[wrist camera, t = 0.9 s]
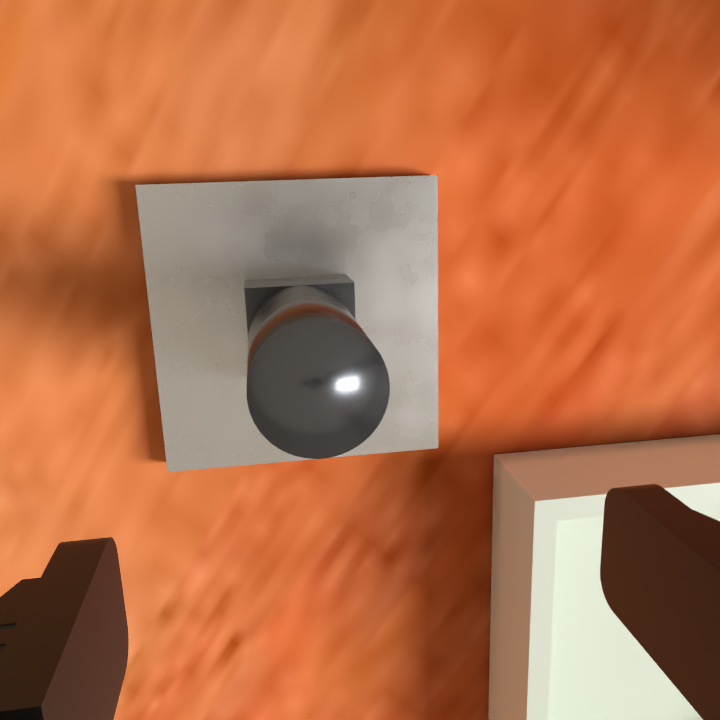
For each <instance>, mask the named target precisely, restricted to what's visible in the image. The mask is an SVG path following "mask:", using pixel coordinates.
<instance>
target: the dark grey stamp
mask: <svg viewBox="0 0 720 720" xmlns="http://www.w3.org/2000/svg"><path fill="white" fill-rule="evenodd" d="M244 291H245V305H246V318H247V331H248V359H247V403H248V408H249V412H250V415H251V417H252V419H253V422H254V424H255V425H256V427H257V428H258V430H259V431H260V433H261V434H262V435H263V436H264V437H265V438H266V439H267V440H268V441H269V442H270V443H271V444H273V445H274V446H275V447H277V448H278V449H280V450H282V451H284V452H286V453H288V454H291V455H294V456H298V457H302V458H309V459H323V458H330V457H334V456H338V455H341V454H344V453H346V452H349V451H350V450H352V449H354V448H356V447H357V446H359V445H360V444H361V443H363V442H364V441H365V440H366V439H367V438H368V437H369V436H371V434H372V433H373V432H374V431H375V430H376V428H377V427H378V425H379V424H380V422H381V420H382V418H383V416H384V414H385V412H386V408H387V405H388V401H389V395H390V382H389V375H388V371H387V368H386V365H385V362H384V360H383V358H382V356H381V354H380V353H379V351H378V350H377V349H376V347H375V346H374V344H373V343H372V342H371V340H370V339H369V338H368V336H367V335H366V334H365V332H364V331H363V329H362V328H361V327H360V325H359V324H358V323H357V321H356V319H355V289H354V282H353V281H352V280H351V279H350V278H349V277H348V276H347V275H336V276H316V277H297V278H278V279H258V280H245V286H244Z"/></svg>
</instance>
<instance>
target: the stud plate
mask: <svg viewBox="0 0 720 720" xmlns="http://www.w3.org/2000/svg"><path fill="white" fill-rule="evenodd" d="M135 187H136V196H137V205H138V214H139V222H140V231H141V240H142V249H143V258H144V267H145V276H146V285H147V294H148V303H149V312H150V321H151V329H152V338H153V347H154V356H155V365H156V374H157V383H158V392H159V401H160V410H161V419H162V428H163V437H164V445H165V454H166V463H167V472H173V471H184V470H195V469H207V468H218V467H230V466H241V465H252V464H264V463H275V462H286V461H298V460H309V458H302V457H298V456H294V455H291V454H288V453H286V452H284V451H282V450H280V449H278V448H277V447H275V446H274V445H273V444H271V443H270V442H269V441H268V440H267V439H266V438H265V437H264V436H263V435H262V434H261V433H260V431H259V430H258V428H257V427H256V425H255V424H254V422H253V419H252V417H251V415H250V412H249V408H248V403H247V359H248V331H247V318H246V305H245V291H244V286H245V280H258V279H278V278H297V277H316V276H336V275H347V276H348V277H349V278H350V279H351V280H352V281H353V282H354V289H355V319H356V321H357V323H358V324H359V325H360V327H361V328H362V329H363V331H364V332H365V334H366V335H367V336H368V338H369V339H370V340H371V342H372V343H373V344H374V346H375V347H376V349H377V350H378V351H379V353H380V354H381V356H382V358H383V360H384V362H385V365H386V368H387V371H388V375H389V382H390V395H389V401H388V405H387V408H386V412H385V414H384V416H383V418H382V420H381V422H380V424H379V425H378V427H377V428H376V430H375V431H374V432H373V433H372V434H371V436H369V437H368V438H367V439H366V440H365V441H364V442H363V443H361V444H360V445H359V446H357V447H356V448H354V449H352V450H350V451H349V452H346V453H344V454H341V455H338V456H334V457H343V456H355V455H366V454H377V453H389V452H400V451H411V450H423V449H434V448H438V175H424V176H393V177H363V178H332V179H301V180H270V181H239V182H208V183H177V184H146V185H135ZM330 458H332V457H330Z"/></svg>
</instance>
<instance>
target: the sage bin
mask: <svg viewBox="0 0 720 720" xmlns="http://www.w3.org/2000/svg"><path fill="white" fill-rule="evenodd" d="M647 484H657V485H660V486H661V487H663V488H664V489H665V490H667V491H668V492H669V493H671V494H672V495H673V496H675V497H676V498H677V499H679V500H680V501H681V502H683V503H684V504H685V505H687V506H688V507H689V508H691V509H692V510H695V511H697V512H699V513H702V514H704V515H706V516H709V517H711V518H713V519H716V520H718V521H720V434H715V435H704V436H693V437H682V438H671V439H660V440H649V441H638V442H626V443H615V444H604V445H593V446H582V447H571V448H560V449H549V450H538V451H527V452H516V453H505V454H494V472H493V520H492V569H491V617H490V665H489V714H488V720H703V719H702V718H701V717H700V715H699V714H698V713H697V712H696V711H695V709H694V708H693V707H692V706H691V705H690V703H689V702H688V701H687V700H686V699H685V697H684V696H683V695H682V694H681V693H680V691H679V690H678V689H677V688H676V687H675V686H674V684H673V683H672V682H671V681H670V680H669V678H668V677H667V676H666V675H665V674H664V672H663V671H662V670H661V669H660V668H659V666H658V665H657V664H656V663H655V662H654V660H653V659H652V658H651V657H650V656H649V654H648V653H647V652H646V651H645V650H644V648H643V647H642V646H641V645H640V644H639V642H638V641H637V640H636V639H635V638H634V636H633V635H632V634H631V633H630V632H629V631H628V629H627V628H626V627H625V626H624V625H623V623H622V622H621V621H620V620H619V619H618V617H617V616H616V615H615V614H614V613H613V611H612V610H611V609H610V607H609V605H608V603H607V601H606V599H605V596H604V593H603V590H602V586H601V580H600V563H601V548H602V533H603V518H604V504H605V498H606V495H607V493H608V491H609V490H610V489H612V488H618V487H627V486H637V485H647Z"/></svg>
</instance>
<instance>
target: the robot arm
mask: <svg viewBox="0 0 720 720" xmlns="http://www.w3.org/2000/svg"><path fill="white" fill-rule="evenodd" d="M600 580H601V586H602V590H603V593H604V596H605V599H606V601H607V603H608V605H609V607H610V609H611V610H612V611H613V613H614V614H615V615H616V616H617V617H618V619H619V620H620V621H621V622H622V623H623V625H624V626H625V627H626V628H627V629H628V631H629V632H630V633H631V634H632V635H633V636H634V638H635V639H636V640H637V641H638V642H639V644H640V645H641V646H642V647H643V648H644V650H645V651H646V652H647V653H648V654H649V656H650V657H651V658H652V659H653V660H654V662H655V663H656V664H657V665H658V666H659V668H660V669H661V670H662V671H663V672H664V674H665V675H666V676H667V677H668V678H669V680H670V681H671V682H672V683H673V684H674V686H675V687H676V688H677V689H678V690H679V691H680V693H681V694H682V695H683V696H684V697H685V699H686V700H687V701H688V702H689V703H690V705H691V706H692V707H693V708H694V709H695V711H696V712H697V713H698V714H699V715H700V717H701V718H702V719H703V720H720V521H718V520H716V519H713V518H711V517H709V516H706V515H704V514H702V513H699V512H697V511H695V510H692V509H691V508H689V507H688V506H687V505H685V504H684V503H683V502H681V501H680V500H679V499H677V498H676V497H675V496H673V495H672V494H671V493H669V492H668V491H667V490H665V489H664V488H663V487H661V486H660V485H657V484H647V485H637V486H627V487H618V488H612V489H610V490H609V491H608V493H607V495H606V498H605V504H604V518H603V533H602V548H601V563H600ZM127 659H128V626H127V618H126V611H125V604H124V597H123V589H122V582H121V575H120V567H119V560H118V553H117V548H116V544H115V541H114V539H113V538H111V537H109V538H99V539H89V540H80V541H70V542H61V543H60V544H59V545H58V546H57V548H56V550H55V552H54V554H53V555H52V557H51V559H50V561H49V563H48V565H47V567H46V569H45V571H44V572H43V574H42V576H41V578H34V579H24V580H21V581H20V582H19V583H17V584H16V585H15V586H14V587H12V588H11V589H10V590H9V591H7V592H6V593H5V594H4V595H3V596H1V597H0V720H113V718H114V715H115V711H116V707H117V703H118V699H119V695H120V691H121V687H122V683H123V679H124V676H125V672H126V667H127Z"/></svg>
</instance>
